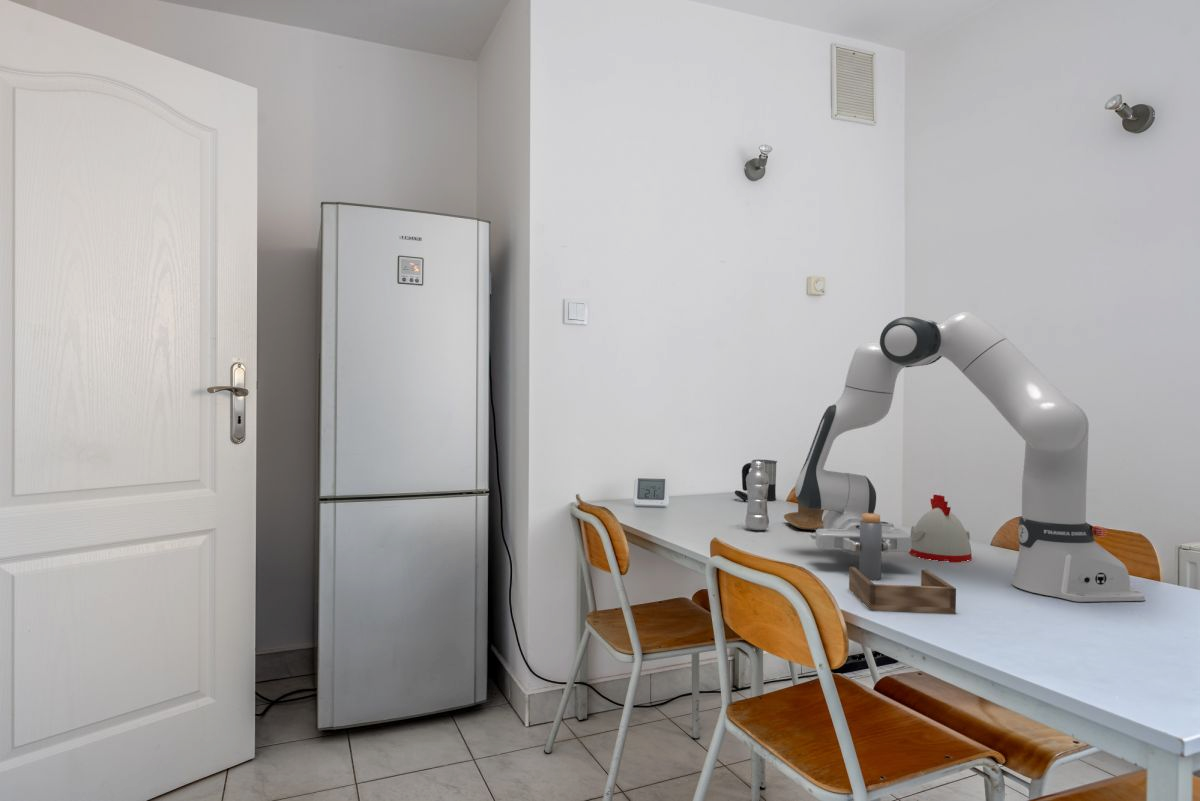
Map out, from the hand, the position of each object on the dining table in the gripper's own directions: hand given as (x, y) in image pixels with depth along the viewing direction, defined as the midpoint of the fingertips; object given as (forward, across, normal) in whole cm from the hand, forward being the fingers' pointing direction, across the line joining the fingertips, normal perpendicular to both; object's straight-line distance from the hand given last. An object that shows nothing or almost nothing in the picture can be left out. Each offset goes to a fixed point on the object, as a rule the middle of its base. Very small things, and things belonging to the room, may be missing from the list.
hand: (871, 547), depth 150 cm
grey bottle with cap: (-1, 0, +7) cm, 7 cm away
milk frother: (-114, -9, +7) cm, 114 cm away
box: (+16, 0, +7) cm, 17 cm away
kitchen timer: (-26, +24, +7) cm, 36 cm away
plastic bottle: (-52, -17, +7) cm, 55 cm away
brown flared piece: (-59, -1, +7) cm, 59 cm away
